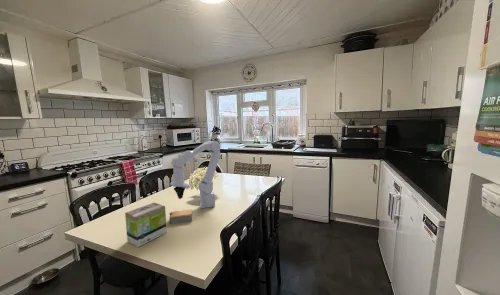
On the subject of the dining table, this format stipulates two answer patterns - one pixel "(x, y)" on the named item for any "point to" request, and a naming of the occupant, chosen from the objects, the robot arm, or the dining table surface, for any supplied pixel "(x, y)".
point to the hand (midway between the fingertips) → (180, 198)
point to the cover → (181, 213)
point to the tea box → (145, 223)
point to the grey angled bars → (180, 219)
